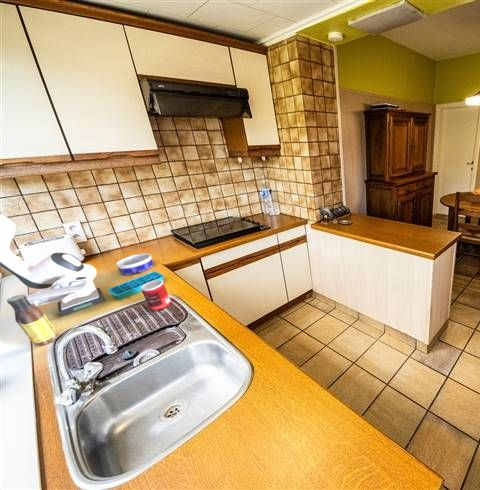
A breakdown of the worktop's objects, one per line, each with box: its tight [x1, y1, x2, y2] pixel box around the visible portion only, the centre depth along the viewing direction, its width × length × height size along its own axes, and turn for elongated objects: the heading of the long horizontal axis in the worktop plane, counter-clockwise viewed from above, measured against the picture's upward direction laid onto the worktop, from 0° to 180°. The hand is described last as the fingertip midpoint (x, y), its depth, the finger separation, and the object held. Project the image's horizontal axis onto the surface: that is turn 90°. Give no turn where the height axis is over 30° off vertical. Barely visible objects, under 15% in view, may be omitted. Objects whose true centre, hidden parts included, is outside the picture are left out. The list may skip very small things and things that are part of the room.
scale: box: [57, 287, 105, 317], centre depth 121 cm, size 14×13×3 cm
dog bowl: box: [115, 253, 155, 276], centre depth 150 cm, size 15×15×6 cm
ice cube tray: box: [107, 270, 165, 300], centre depth 131 cm, size 12×20×3 cm, turn 147°
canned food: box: [141, 280, 172, 312], centre depth 114 cm, size 8×8×11 cm
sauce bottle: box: [6, 293, 59, 347], centre depth 95 cm, size 6×6×20 cm
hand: (46, 305), depth 102 cm, fingers open, 8 cm apart
